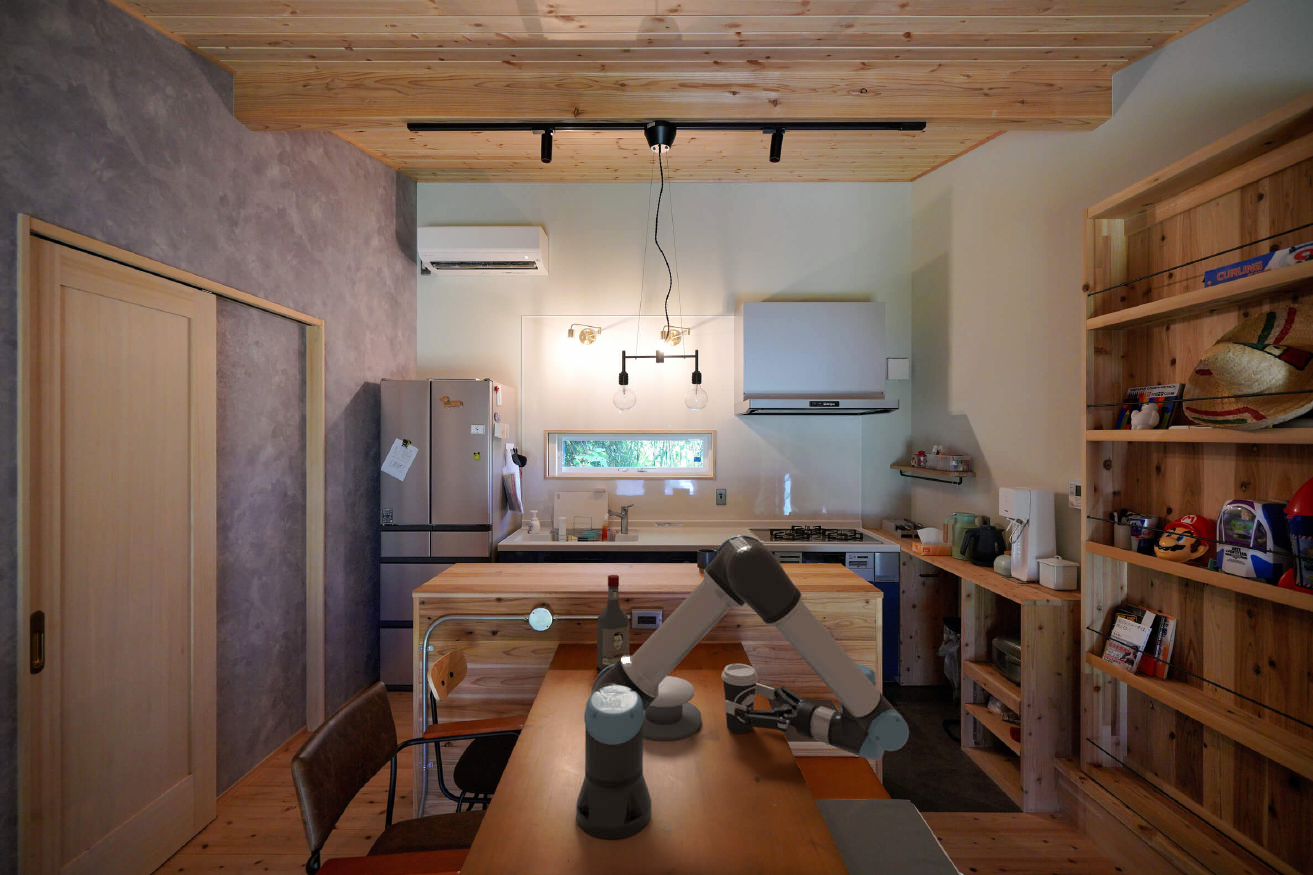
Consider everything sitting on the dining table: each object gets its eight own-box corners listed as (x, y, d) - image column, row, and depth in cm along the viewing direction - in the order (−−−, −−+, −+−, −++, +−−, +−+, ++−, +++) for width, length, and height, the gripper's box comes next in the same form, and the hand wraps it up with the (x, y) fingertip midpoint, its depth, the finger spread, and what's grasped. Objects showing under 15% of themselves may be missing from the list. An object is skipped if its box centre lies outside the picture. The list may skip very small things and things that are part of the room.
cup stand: (698, 743, 140) (698, 709, 140) (619, 737, 143) (619, 703, 143) (703, 705, 160) (703, 675, 160) (634, 700, 163) (634, 670, 163)
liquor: (595, 664, 187) (595, 574, 187) (620, 660, 191) (621, 571, 191) (604, 675, 179) (604, 581, 179) (631, 670, 183) (631, 578, 183)
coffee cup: (756, 718, 153) (756, 663, 153) (759, 737, 143) (759, 678, 143) (720, 716, 154) (721, 661, 153) (721, 735, 144) (721, 676, 144)
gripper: (793, 761, 126) (713, 729, 139) (836, 717, 145) (762, 693, 158) (793, 727, 126) (713, 699, 139) (836, 688, 145) (762, 666, 158)
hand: (739, 695), depth 149 cm, fingers open, 13 cm apart
